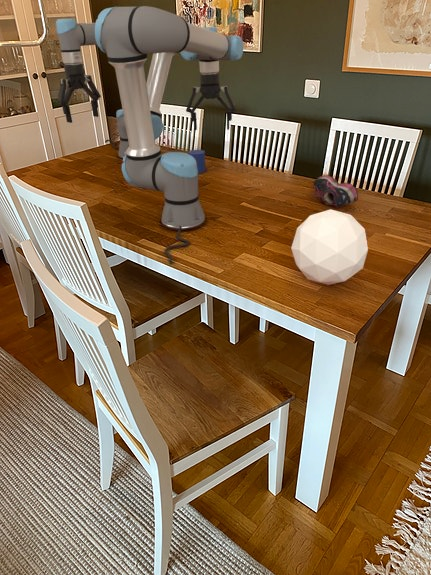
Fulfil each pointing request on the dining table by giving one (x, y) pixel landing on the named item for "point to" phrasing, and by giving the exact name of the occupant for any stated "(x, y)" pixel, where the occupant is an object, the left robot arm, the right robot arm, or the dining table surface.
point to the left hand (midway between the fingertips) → (83, 119)
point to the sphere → (330, 247)
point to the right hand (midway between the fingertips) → (211, 129)
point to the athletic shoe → (334, 191)
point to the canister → (199, 159)
